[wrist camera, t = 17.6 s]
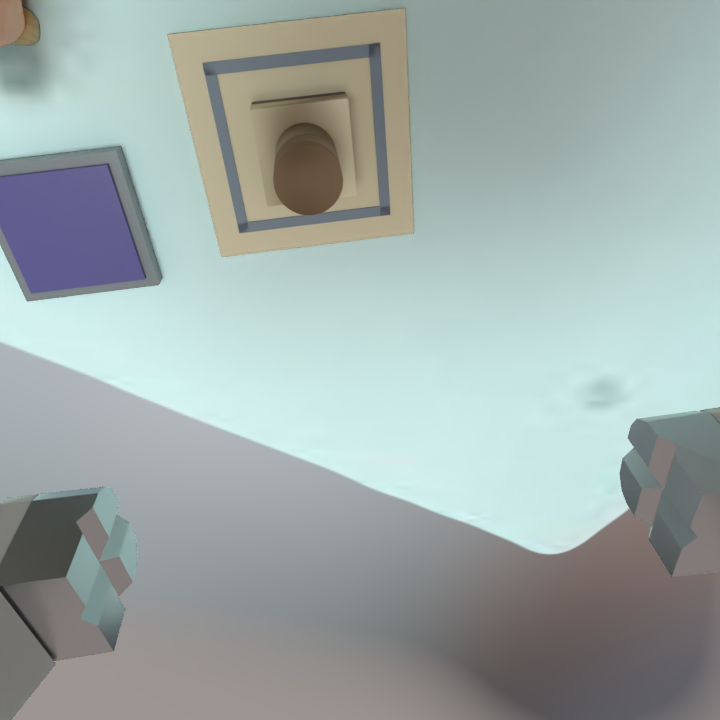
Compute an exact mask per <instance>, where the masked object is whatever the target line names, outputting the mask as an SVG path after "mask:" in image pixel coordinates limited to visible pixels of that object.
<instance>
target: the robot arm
mask: <svg viewBox="0 0 720 720" xmlns="http://www.w3.org/2000/svg"><path fill="white" fill-rule="evenodd" d="M628 439H629V441H630V442H631V443H632V445H633V446H634V448H633V449H632V450H631V451H630V452H629V453H628V454H627V455H626V456H625V457H624V458H623V459H622V464H621V469H620V480H621V488H622V492H623V495H624V497H625V500H626V503H627V505H628V506H629V508H630V510H631V511H632V513H633V515H634V516H635V517H637V518H638V519H640V520H641V521H643V522H644V523H646V524H648V525H649V526H651V531H650V536H649V541H650V543H651V544H652V546H653V548H654V549H655V551H656V552H657V554H658V556H659V557H660V559H661V561H662V562H663V564H664V565H665V567H666V569H667V570H668V572H669V573H670V575H671V577H675V576H685V575H694V574H704V573H713V572H720V407H719V408H712V409H705V410H700V411H691V412H684V413H676V414H669V415H662V416H654V417H647V418H640V419H636V420H635V422H634V423H633V424H632V425H631V427H630V431H629V435H628ZM119 504H120V502H119V500H118V498H117V496H116V494H115V493H114V491H113V489H112V488H108V487H99V488H89V489H80V490H70V491H60V492H50V493H41V494H38V495H28V496H18V497H8V498H6V499H5V500H3V501H2V502H1V503H0V720H12V718H13V717H14V716H15V715H16V713H17V712H18V711H19V710H20V708H21V707H22V706H23V705H24V703H25V702H26V701H27V700H28V698H29V697H30V696H31V695H32V693H33V692H34V691H35V690H36V688H37V687H38V686H39V684H40V683H41V682H42V681H43V680H44V678H45V677H46V676H47V674H48V673H49V672H50V671H51V669H52V668H53V667H54V666H55V662H54V661H57V660H64V659H69V658H75V657H82V656H88V655H95V654H101V653H106V652H112V651H114V649H115V645H116V641H117V637H118V634H119V630H120V627H121V623H122V620H123V616H124V612H125V607H124V605H123V604H122V602H121V600H120V598H119V596H120V595H121V594H122V593H123V592H124V591H125V590H126V588H127V587H128V586H129V585H130V584H131V583H132V582H133V578H134V574H135V570H136V566H137V542H136V538H135V533H134V531H133V529H132V526H131V524H130V522H129V521H127V520H125V519H123V518H122V517H120V516H118V515H117V511H118V508H119Z"/></svg>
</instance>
